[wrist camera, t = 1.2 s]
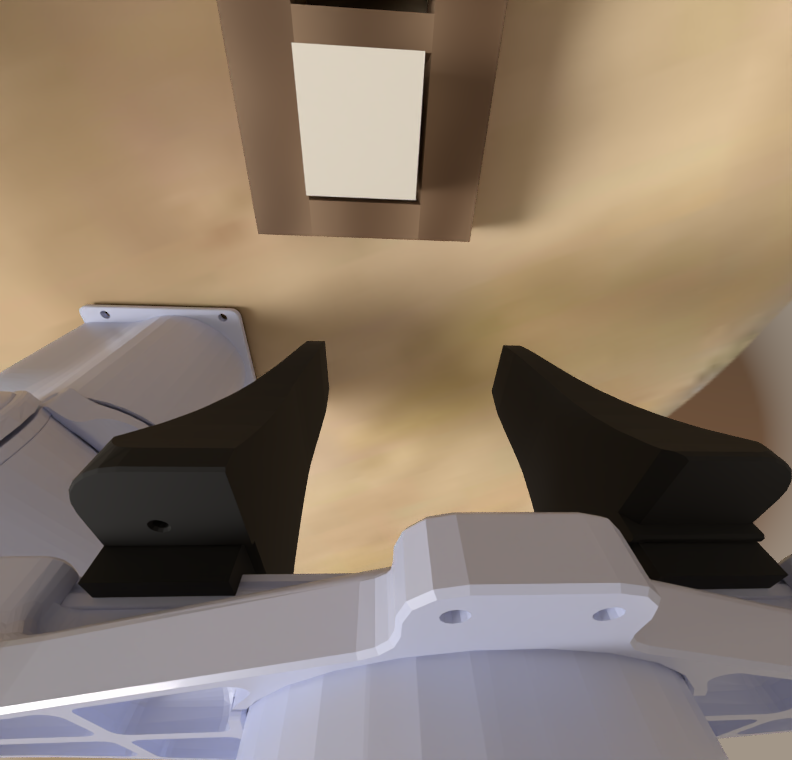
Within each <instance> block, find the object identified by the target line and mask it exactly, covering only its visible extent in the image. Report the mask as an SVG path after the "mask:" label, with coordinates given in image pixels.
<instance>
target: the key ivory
mask: <svg viewBox="0 0 792 760" xmlns="http://www.w3.org/2000/svg"><path fill="white" fill-rule="evenodd" d="M291 44H292V54H293V64H294V75H295V85H296V95H297V105H298V116H299V126H300V136H301V146H302V157H303V167H304V177H305V187H306V195H307V196H330V197H353V198H377V199H400V200H416V185H417V170H418V155H419V140H420V125H421V109H422V94H423V79H424V64H425V51H416V50H400V49H385V48H369V47H354V46H338V45H323V44H307V43H291Z"/></svg>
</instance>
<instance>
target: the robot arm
mask: <svg viewBox="0 0 792 760" xmlns="http://www.w3.org/2000/svg"><path fill="white" fill-rule="evenodd" d="M105 311H106V312H108V313H109V315H110V316H109V315H107V314H106V313H105ZM79 312H80V315H81V317H82V319H83V320H84V322H85V323H84V324H82V325H81V326H79V327H77V328H76V329H74V330H72V331H70V332H69V333H67V334H65V335H64V336H62V337H60V338H58V339H57V340H55V341H53V342H51V343H50V344H48V345H46V346H45V347H43V348H41V349H39V350H38V351H36V352H34V353H33V354H31V355H29V356H27V357H26V358H24V359H22V360H20V361H19V362H17V363H15V364H14V365H12V366H10V367H8V368H7V369H5V370H4V371H2V372H1V373H0V758H1V757H2V758H3V757H81V758H82V757H84V758H86V757H87V758H130V759H131V758H132V759H171V760H173V759H174V760H729V759H728V757H727V755H726V753H725V752H724V750H723V748H722V746H721V745H720V743H719V741H718V739H719V738H729V737H739V736H750V735H760V734H771V733H782V732H792V554H791V555H789V556H787V557H785V558H784V559H783V560H782V561H780V562H779V563H777V562H776V561H775V560H774V559H773V558H772V557H771V556H770V555H769V554H768V553H767V552H766V551H765V550H764V549H763V548H762V547H761V546H760V544H759V543H758V541H762V540H763V539H764V534H763V533H762V532H761V531H760V530H759V529H758V528H757V527H756V526H755V525H754V524H753V522H754V521H755V520H756V519H757V518H758V517H760V516H761V515H762V514H763V513H764V512H765V511H766V510H767V509H768V508H769V507H771V506H772V505H773V504H774V503H775V502H776V501H777V500H778V499H779V498H780V497H781V496H782V495H783V494H784V493H785V492H786V491H787V489H788V487H789V485H790V483H791V479H792V473H791V472H792V470H791V468H790V467H789V465H788V464H787V463H786V462H785V461H784V460H782V459H781V458H780V457H778V456H777V455H776V454H774V453H773V452H772V451H771V450H769V449H768V448H767V447H765V446H764V445H762V444H761V443H759V442H756V441H752V440H748V439H743V438H739V437H735V436H731V435H727V434H723V433H719V432H715V431H711V430H707V429H703V428H700V427H696V426H692V425H689V424H686V423H683V422H679V421H676V420H673V419H670V418H667V417H664V416H661V415H658V414H655V413H652V412H650V411H647V410H644V409H642V408H639V407H636V406H634V405H631V404H629V403H626V402H624V401H621V400H619V399H617V398H615V397H613V396H610V395H608V394H606V393H604V392H602V391H600V390H598V389H595V388H593V387H592V386H590V385H588V384H586V383H584V382H582V381H580V380H579V379H577V378H575V377H573V376H571V375H570V374H568V373H566V372H565V371H563V370H561V369H560V368H558V367H556V366H555V365H553V364H551V363H550V362H548V361H546V360H545V359H543V358H541V357H540V356H538V355H537V354H535V353H533V352H531V351H530V350H528V349H526V348H524V347H522V346H507V345H503V349H502V353H501V357H500V361H499V365H498V368H497V372H496V376H495V380H494V384H493V388H492V394H493V398H494V403H495V406H496V410H497V413H498V416H499V418H500V421H501V423H502V425H503V428H504V430H505V432H506V435H507V437H508V439H509V441H510V444H511V446H512V448H513V450H514V453H515V455H516V457H517V459H518V462H519V464H520V467H521V469H522V472H523V475H524V478H525V481H526V485H527V488H528V491H529V494H530V498H531V501H532V505H533V509H534V512H463V513H448V514H441V515H435V516H429V517H426V518H424V519H422V520H420V521H418V522H417V523H415V524H413V525H411V526H409V527H408V528H406V529H405V530H404V531H403V532H402V533H401V535H400V537H399V539H398V541H397V542H396V544H395V546H394V552H393V564H392V566H391V567H386V568H380V569H375V570H370V571H365V572H360V573H342V574H293V572H294V565H295V557H296V550H297V543H298V536H299V529H300V522H301V516H302V509H303V503H304V497H305V491H306V485H307V479H308V474H309V469H310V465H311V461H312V458H313V454H314V451H315V447H316V444H317V441H318V437H319V434H320V430H321V427H322V423H323V420H324V416H325V413H326V407H327V400H328V393H329V382H328V371H327V360H326V349H325V341H307V342H305V343H304V344H303V345H302V346H300V347H299V348H298V349H297V350H296V351H294V352H293V353H292V354H291V355H289V356H288V357H287V358H286V359H284V360H283V361H282V362H281V363H279V364H278V365H277V366H276V367H274V368H273V369H271V370H270V371H268V372H267V373H266V374H264V375H263V376H261V377H260V378H259V379H257V380H256V376H255V372H254V368H253V364H252V360H251V355H250V351H249V347H248V343H247V339H246V334H245V330H244V326H243V322H242V317H241V315H240V313H239V312H238V311H237V310H236V309H233V308H205V307H167V306H130V305H92V304H88V305H84V306H82V307H81V308H80V309H79ZM221 314H224V315H225V316H226V317H227V319H224V318H222V316H221Z"/></svg>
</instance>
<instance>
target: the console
mask: <svg viewBox="0 0 792 760" xmlns="http://www.w3.org/2000/svg"><path fill="white" fill-rule="evenodd" d="M217 6H218V11H219V17H220V22H221V28H222V33H223V39H224V45H225V50H226V56H227V61H228V67H229V73H230V78H231V84H232V89H233V95H234V100H235V106H236V112H237V117H238V123H239V128H240V134H241V139H242V145H243V151H244V156H245V162H246V167H247V173H248V179H249V184H250V190H251V195H252V201H253V206H254V212H255V218H256V223H257V229H258V234H273V235H300V236H327V237H354V238H381V239H407V240H434V241H461V242H470V236H471V229H472V223H473V216H474V210H475V204H476V197H477V191H478V185H479V178H480V172H481V165H482V159H483V153H484V146H485V140H486V134H487V127H488V121H489V114H490V108H491V102H492V95H493V89H494V82H495V76H496V70H497V63H498V57H499V51H500V44H501V38H502V31H503V25H504V19H505V12H506V6H507V0H428V5H427V13H416V12H402V11H387V10H373V9H359V8H344V7H330V6H316V5H306V0H217ZM291 43H307V44H323V45H338V46H354V47H369V48H385V49H400V50H416V51H425V64H424V79H423V94H422V109H421V125H420V140H419V155H418V170H417V185H416V200H400V199H377V198H353V197H330V196H307V195H306V187H305V177H304V167H303V157H302V146H301V136H300V126H299V116H298V105H297V95H296V85H295V75H294V64H293V54H292V44H291Z"/></svg>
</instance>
